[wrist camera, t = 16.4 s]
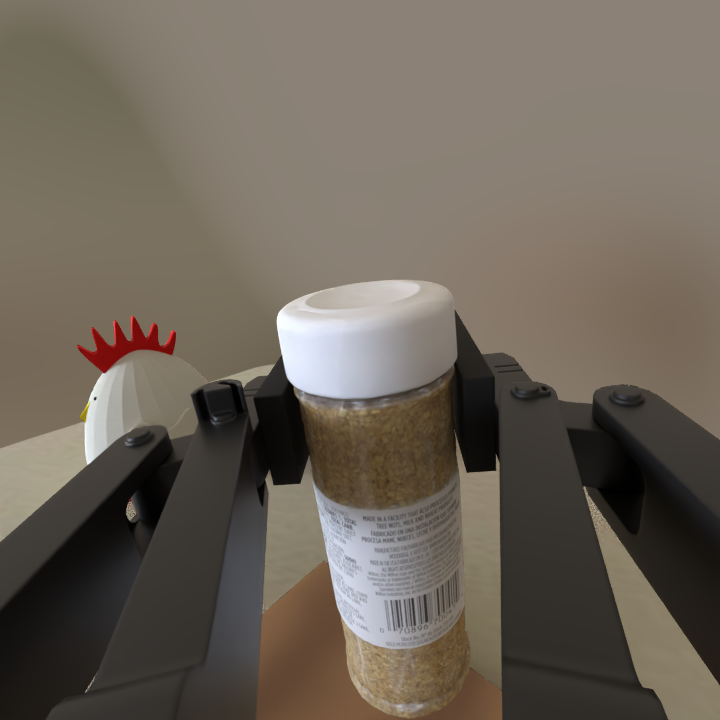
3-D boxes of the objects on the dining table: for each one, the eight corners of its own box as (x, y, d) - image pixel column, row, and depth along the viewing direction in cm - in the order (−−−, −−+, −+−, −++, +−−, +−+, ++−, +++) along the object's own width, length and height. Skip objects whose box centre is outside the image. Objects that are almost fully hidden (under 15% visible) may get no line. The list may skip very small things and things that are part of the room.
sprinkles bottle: (450, 591, 18) (430, 268, 13) (490, 714, 13) (481, 300, 9) (342, 608, 18) (282, 288, 13) (347, 738, 13) (259, 330, 9)
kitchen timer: (89, 457, 46) (35, 325, 41) (213, 411, 53) (181, 294, 48) (102, 524, 35) (31, 357, 30) (256, 455, 42) (220, 310, 37)
